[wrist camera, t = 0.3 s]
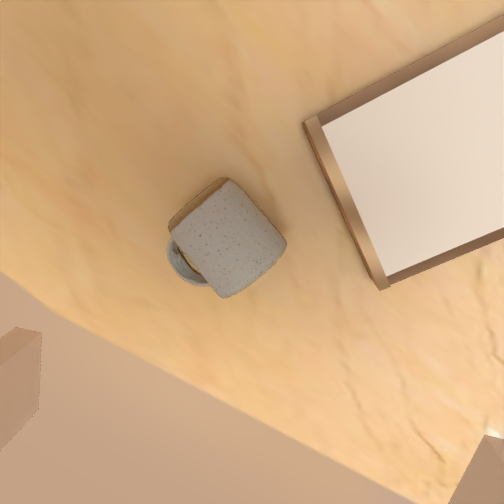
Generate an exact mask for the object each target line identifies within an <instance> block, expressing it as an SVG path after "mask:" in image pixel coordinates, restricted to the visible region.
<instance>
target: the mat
mask: <svg viewBox="0 0 504 504" xmlns="http://www.w3.org/2000/svg"><path fill="white" fill-rule="evenodd" d="M322 129H323V131H324V134H325V136H326V138H327V141H328V143H329V145H330V148H331V150H332V152H333V154H334V157H335V159H336V161H337V164H338V166H339V168H340V171H341V173H342V175H343V178H344V180H345V182H346V185H347V187H348V189H349V191H350V194H351V196H352V198H353V201H354V203H355V205H356V208H357V210H358V212H359V215H360V217H361V219H362V222H363V224H364V226H365V228H366V231H367V233H368V235H369V238H370V240H371V242H372V245H373V247H374V249H375V252H376V254H377V256H378V258H379V261H380V263H381V265H382V268H383V270H384V272H385V275H386V276H389V275H391V274H394V273H396V272H398V271H401V270H403V269H405V268H408V267H410V266H413V265H415V264H417V263H420V262H422V261H424V260H427V259H429V258H432V257H434V256H436V255H439V254H441V253H443V252H446V251H448V250H451V249H453V248H455V247H458V246H460V245H463V244H465V243H467V242H470V241H472V240H474V239H477V238H479V237H482V236H484V235H486V234H489V233H491V232H493V231H496V230H498V229H501V228H503V227H504V31H503V32H501V33H499V34H497V35H495V36H494V37H492V38H490V39H488V40H486V41H484V42H482V43H480V44H478V45H476V46H474V47H473V48H471V49H469V50H467V51H465V52H463V53H461V54H459V55H457V56H455V57H454V58H452V59H450V60H448V61H446V62H444V63H442V64H440V65H438V66H436V67H434V68H433V69H431V70H429V71H427V72H425V73H423V74H421V75H419V76H417V77H415V78H414V79H412V80H410V81H408V82H406V83H404V84H402V85H400V86H398V87H396V88H394V89H393V90H391V91H389V92H387V93H385V94H383V95H381V96H379V97H377V98H375V99H374V100H372V101H370V102H368V103H366V104H364V105H362V106H360V107H358V108H356V109H355V110H353V111H351V112H349V113H347V114H345V115H343V116H341V117H339V118H337V119H335V120H334V121H332V122H330V123H328V124H326V125H324V126H322Z"/></svg>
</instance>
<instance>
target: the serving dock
mask: <svg viewBox="0 0 504 504" xmlns="http://www.w3.org/2000/svg"><path fill="white" fill-rule="evenodd" d="M503 31H504V15H502V16H500V17H499V18H497V19H495V20H493V21H491V22H489V23H487V24H485V25H484V26H482V27H480V28H478V29H476V30H474V31H472V32H471V33H469V34H467V35H465V36H463V37H461V38H459V39H457V40H456V41H454V42H452V43H450V44H448V45H446V46H444V47H442V48H441V49H439V50H437V51H435V52H433V53H431V54H429V55H427V56H426V57H424V58H422V59H420V60H418V61H416V62H414V63H412V64H411V65H409V66H407V67H405V68H403V69H401V70H399V71H397V72H396V73H394V74H392V75H390V76H388V77H386V78H384V79H382V80H381V81H379V82H377V83H375V84H373V85H371V86H369V87H367V88H366V89H364V90H362V91H360V92H358V93H356V94H354V95H352V96H351V97H349V98H347V99H345V100H343V101H341V102H339V103H338V104H336V105H334V106H332V107H330V108H328V109H326V110H324V111H323V112H321V113H319V114H317V115H315V116H313V117H311V118H309V119H307V120H306V121H304V122H302V125H303V127H304V130H305V132H306V134H307V136H308V139H309V141H310V143H311V145H312V148H313V150H314V152H315V154H316V157H317V159H318V161H319V163H320V166H321V168H322V170H323V172H324V175H325V177H326V179H327V181H328V184H329V186H330V188H331V190H332V193H333V195H334V197H335V199H336V201H337V204H338V206H339V208H340V210H341V213H342V215H343V217H344V219H345V222H346V224H347V226H348V228H349V231H350V233H351V235H352V237H353V240H354V242H355V244H356V246H357V249H358V251H359V253H360V255H361V258H362V260H363V262H364V264H365V267H366V269H367V271H368V273H369V276H370V278H371V279H372V280H373V282H374V283H375V285H376V286H377V288H378V289H379V291H381V290H383V289H386V288H388V287H391V286H390V285H391V284H394V283H396V282H399V281H401V280H403V279H406V278H408V277H411V276H413V275H415V274H418V273H420V272H423V271H425V270H427V269H430V268H432V267H435V266H437V265H439V264H442V263H444V262H447V261H449V260H451V259H454V258H456V257H459V256H461V255H464V254H466V253H468V252H471V251H473V250H476V249H478V248H480V247H483V246H485V245H488V244H490V243H492V242H495V241H497V240H500V239H502V238H504V227H503V228H501V229H498V230H496V231H493V232H491V233H489V234H486V235H484V236H482V237H479V238H477V239H474V240H472V241H470V242H467V243H465V244H463V245H460V246H458V247H455V248H453V249H451V250H448V251H446V252H443V253H441V254H439V255H436V256H434V257H432V258H429V259H427V260H424V261H422V262H420V263H417V264H415V265H413V266H410V267H408V268H405V269H403V270H401V271H398V272H396V273H394V274H391V275H389V276H386V275H385V272H384V270H383V268H382V265H381V263H380V261H379V258H378V256H377V254H376V252H375V249H374V247H373V245H372V242H371V240H370V238H369V235H368V233H367V231H366V228H365V226H364V224H363V222H362V219H361V217H360V215H359V212H358V210H357V208H356V205H355V203H354V201H353V198H352V196H351V194H350V191H349V189H348V187H347V185H346V182H345V180H344V178H343V175H342V173H341V171H340V168H339V166H338V164H337V161H336V159H335V157H334V154H333V152H332V150H331V148H330V145H329V143H328V141H327V138H326V136H325V134H324V131H323V129H322V126H324V125H326V124H328V123H330V122H332V121H334V120H335V119H337V118H339V117H341V116H343V115H345V114H347V113H349V112H351V111H353V110H355V109H356V108H358V107H360V106H362V105H364V104H366V103H368V102H370V101H372V100H374V99H375V98H377V97H379V96H381V95H383V94H385V93H387V92H389V91H391V90H393V89H394V88H396V87H398V86H400V85H402V84H404V83H406V82H408V81H410V80H412V79H414V78H415V77H417V76H419V75H421V74H423V73H425V72H427V71H429V70H431V69H433V68H434V67H436V66H438V65H440V64H442V63H444V62H446V61H448V60H450V59H452V58H454V57H455V56H457V55H459V54H461V53H463V52H465V51H467V50H469V49H471V48H473V47H474V46H476V45H478V44H480V43H482V42H484V41H486V40H488V39H490V38H492V37H494V36H495V35H497V34H499V33H501V32H503Z"/></svg>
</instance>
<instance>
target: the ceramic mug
mask: <svg viewBox="0 0 504 504" xmlns="http://www.w3.org/2000/svg"><path fill="white" fill-rule="evenodd" d="M168 228H169V231H170V233H171V235H172V237H171V239H170V241H169V243H168V245H167V255H168V259H169V262H170V264H171V265H172V267H173V269H174V270H175V271H176V273H177V274H178V275H179V276H180V277H181V278H182V279H184V280H185V281H187V282H188V283H190V284H193V285H196V286H210V285H211V287H212V288H213V289H214V290H215V292H216V293H217V294H218V295H219V296H220V297H221V298H228V297H230V296H232V295H235V294H237V293H238V292H240V291H242V290H243V289H244V288H246V287H247V286H249V285H250V284H251V283H253V282H254V281H255V280H256V279H258V278H259V277H260V276H261V275H263V274H264V273H265V272H266V271H267V270H268V269H270V268H271V267H272V266H273V265H274V263H275V262H276V261H277V259H278V258H279V257H280V256H281V255H282V254H283V252H284V250H285V249H286V246H287V242H286V240H285V239H284V237H283V236H282V235H281V234H280V233H279V232H278V231H277V230H276V228H275V227H274V226H273V225H272V224H271V222H270V221H269V220H268V219H267V218H266V216H265V215H264V214H263V213H262V212H261V211H260V210H259V209H258V208H257V206H256V205H255V204H254V203H253V202H252V200H251V199H250V198H249V197H248V196H247V194H246V193H245V192H244V191H243V190H242V189H241V188H240V187H239V186H238V185H237V184H236V183H234V182H233V181H232V180H230V179H229V178H220V179H218V180H217V181H215V182H214V183H213V184H211V185H210V186H209V187H208V188H206V189H205V190H204V191H202V192H201V193H200V194H199V195H197V196H196V197H195V198H194V199H193V200H192V201H190V202H189V203H188V204H187V205H186V206H184V207H183V208H182V209H181V210H180V211H179V212H178V213H177V214H176V215H175V216H174V217H173V218H172V219H171V220H170V222H169V226H168ZM178 246H179V248H180V249H181V250H182V251H183V252H184V253H185V254H186V256H187V257H188V258H189V259H190V260H191V261H192V263H193V264H194V265H195V266H196V268H197V269H198V270H199V272H200V273H201V274H202V275H200V274H197V273H196V272H195V271H193V270H192V269H191V268H190V267H189V266H188V264H187V263H186V262H185V260H184V259H183V258H182V255H181V254H180V253H179V251H178Z"/></svg>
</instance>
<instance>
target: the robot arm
mask: <svg viewBox="0 0 504 504" xmlns="http://www.w3.org/2000/svg"><path fill="white" fill-rule="evenodd" d="M41 343H42V333H40V332H36V331H31V330H26V329H23V328H18V327H16V328H14V329H13V330H11V331H10V332H8V333H7V334H6V335H4V336H3V337H1V338H0V451H1V450H2V449H3V448H4V447H5V446H6V445H7V444H8V442H9V441H10V440H11V439H12V438H13V437H14V436H15V435H16V434H17V432H18V431H19V430H20V429H21V428H22V427H23V426H24V425H25V424H26V422H27V421H28V420H29V419H30V418H31V417H32V416H33V415H34V414H35V413H36V412H37V410H38V409H39V394H40V369H41ZM448 504H504V439H500V438H496V437H492V436H487V435H484V437H483V439H482V440H481V442H480V444H479V446H478V448H477V450H476V452H475V454H474V456H473V458H472V459H471V461H470V463H469V465H468V467H467V469H466V471H465V473H464V475H463V476H462V478H461V480H460V482H459V484H458V486H457V488H456V490H455V492H454V494H453V495H452V497H451V499H450V501H449V503H448Z"/></svg>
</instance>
